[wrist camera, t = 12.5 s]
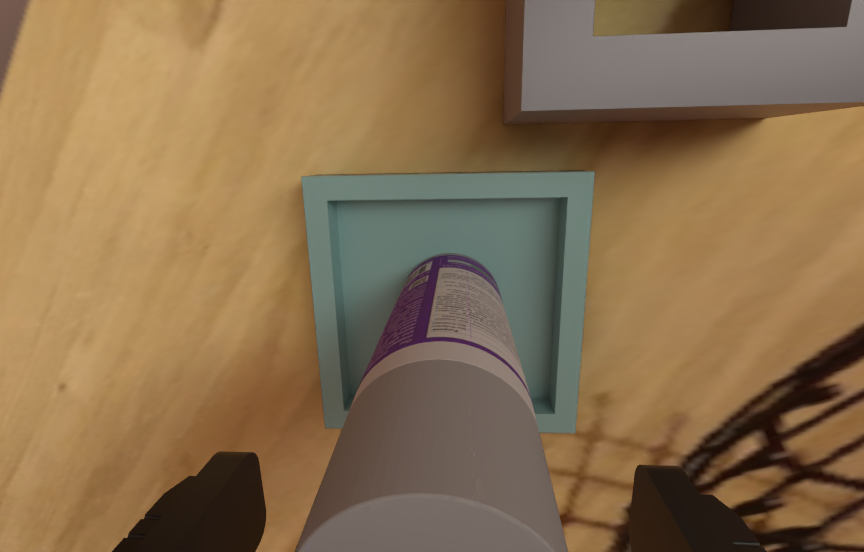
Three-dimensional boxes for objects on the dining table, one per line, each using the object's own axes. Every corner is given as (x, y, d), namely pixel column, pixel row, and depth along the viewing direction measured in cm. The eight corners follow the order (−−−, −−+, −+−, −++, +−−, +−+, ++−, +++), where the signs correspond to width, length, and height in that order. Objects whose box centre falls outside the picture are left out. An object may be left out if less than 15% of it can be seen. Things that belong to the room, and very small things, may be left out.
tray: (581, 170, 20) (594, 171, 18) (565, 409, 23) (575, 433, 21) (316, 174, 20) (301, 176, 18) (336, 405, 24) (324, 428, 22)
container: (418, 356, 22) (336, 749, 7) (388, 268, 21) (223, 525, 6) (511, 332, 21) (620, 709, 7) (485, 240, 20) (548, 454, 6)
